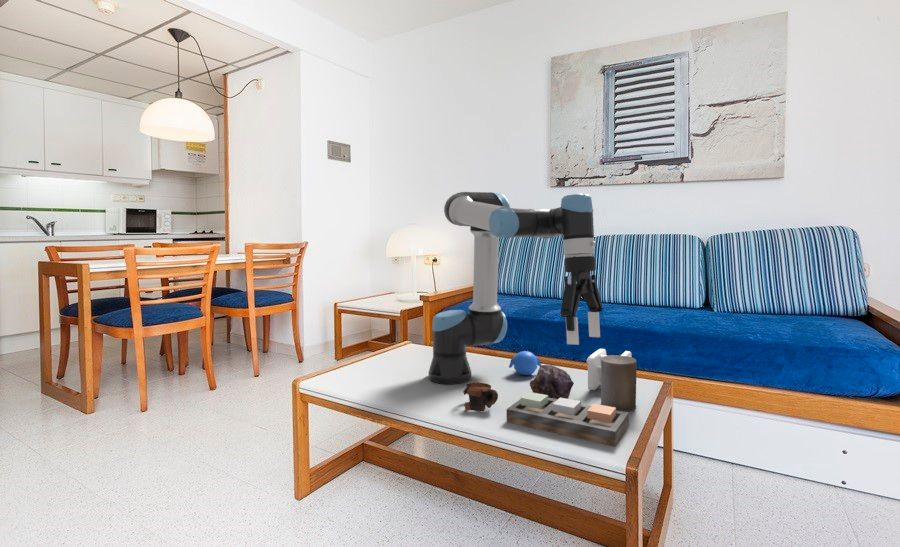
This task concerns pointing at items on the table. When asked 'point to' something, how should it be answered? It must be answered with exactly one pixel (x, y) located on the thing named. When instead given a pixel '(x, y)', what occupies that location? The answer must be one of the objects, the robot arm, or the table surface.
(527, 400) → the sage key
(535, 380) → the rock
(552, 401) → the keypad
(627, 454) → the table surface
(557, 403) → the white key
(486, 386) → the pottery mug
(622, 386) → the pillar candle
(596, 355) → the cable organizer
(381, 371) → the table surface
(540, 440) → the table surface
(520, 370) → the blue rounded piece
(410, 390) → the table surface
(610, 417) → the orange square block
